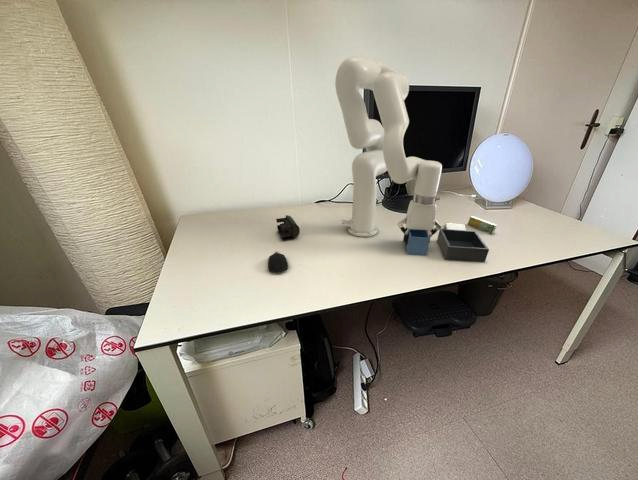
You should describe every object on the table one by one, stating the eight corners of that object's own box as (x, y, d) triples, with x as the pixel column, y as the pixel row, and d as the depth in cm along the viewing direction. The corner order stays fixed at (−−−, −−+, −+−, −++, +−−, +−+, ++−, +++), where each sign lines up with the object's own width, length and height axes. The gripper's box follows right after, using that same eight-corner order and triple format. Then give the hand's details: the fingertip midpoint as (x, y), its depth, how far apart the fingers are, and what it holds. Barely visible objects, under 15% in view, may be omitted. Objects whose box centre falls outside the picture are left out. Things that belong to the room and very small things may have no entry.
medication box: (494, 233, 121) (498, 225, 119) (491, 234, 119) (495, 225, 117) (469, 223, 128) (472, 215, 126) (466, 224, 127) (469, 216, 125)
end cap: (300, 238, 110) (299, 223, 106) (283, 241, 108) (281, 225, 104) (294, 229, 118) (292, 214, 114) (277, 231, 115) (275, 216, 111)
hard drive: (463, 227, 125) (468, 239, 115) (445, 225, 126) (447, 237, 116) (464, 224, 124) (469, 235, 114) (445, 222, 125) (448, 233, 115)
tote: (445, 259, 100) (448, 246, 97) (437, 240, 113) (439, 228, 110) (484, 262, 99) (489, 249, 96) (471, 242, 112) (475, 230, 109)
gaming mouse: (284, 251, 101) (283, 242, 99) (289, 273, 89) (288, 263, 87) (267, 253, 99) (265, 243, 97) (269, 276, 88) (267, 265, 85)
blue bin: (407, 254, 103) (410, 237, 99) (404, 240, 112) (407, 224, 108) (426, 255, 102) (429, 238, 98) (422, 242, 111) (425, 226, 108)
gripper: (447, 196, 99) (436, 241, 109) (398, 194, 100) (392, 238, 110) (451, 203, 93) (440, 250, 102) (400, 200, 94) (393, 246, 103)
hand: (415, 243), depth 106 cm, fingers closed on blue bin, 7 cm apart
